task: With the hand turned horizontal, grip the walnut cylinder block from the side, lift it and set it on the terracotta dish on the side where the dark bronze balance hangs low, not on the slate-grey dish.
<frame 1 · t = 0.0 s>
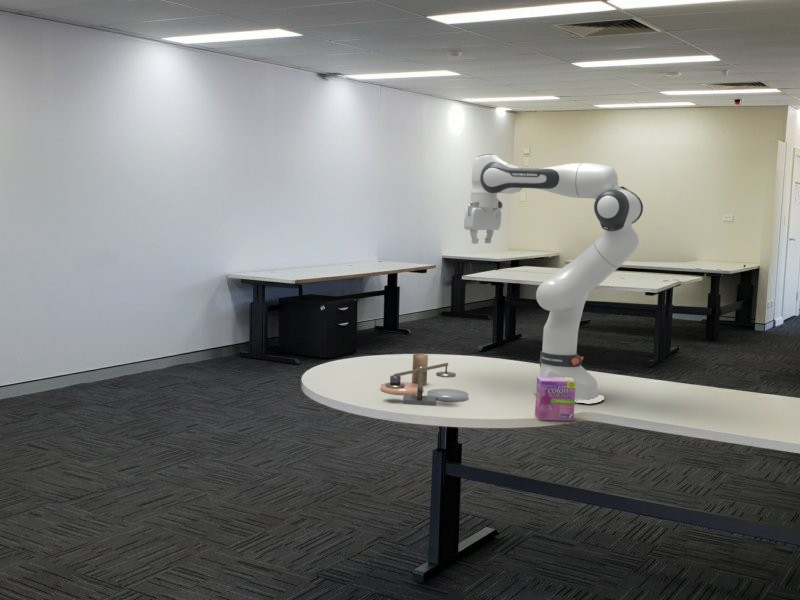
hand: (481, 243, 287), 48 cm above the table, tool pointing down, fingers open, 8 cm apart
box: (553, 419, 244), on the table
balance: (419, 401, 257), on the table
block: (419, 384, 283), on the table
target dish: (402, 390, 273), on the table
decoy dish: (447, 397, 266), on the table
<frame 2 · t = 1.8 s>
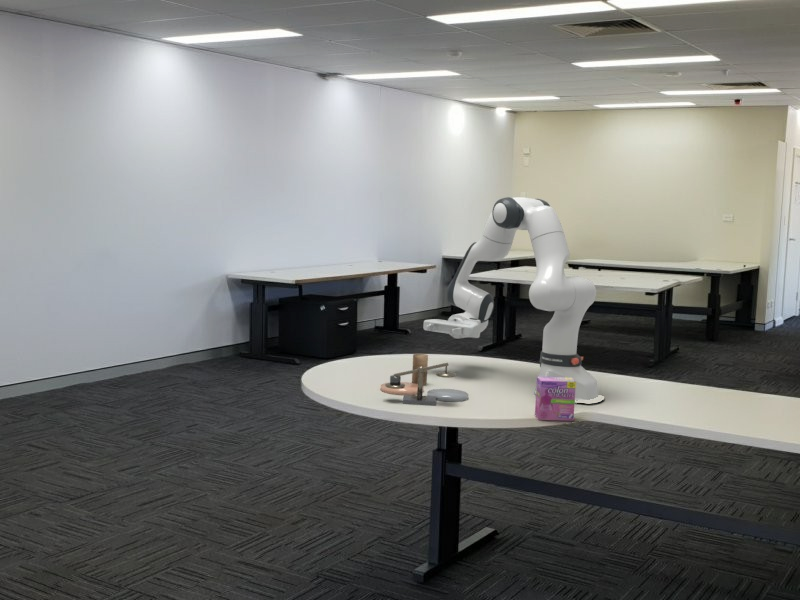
hand: (439, 330, 291), 17 cm above the table, tool horizontal, fingers open, 8 cm apart
nothing on the table moved.
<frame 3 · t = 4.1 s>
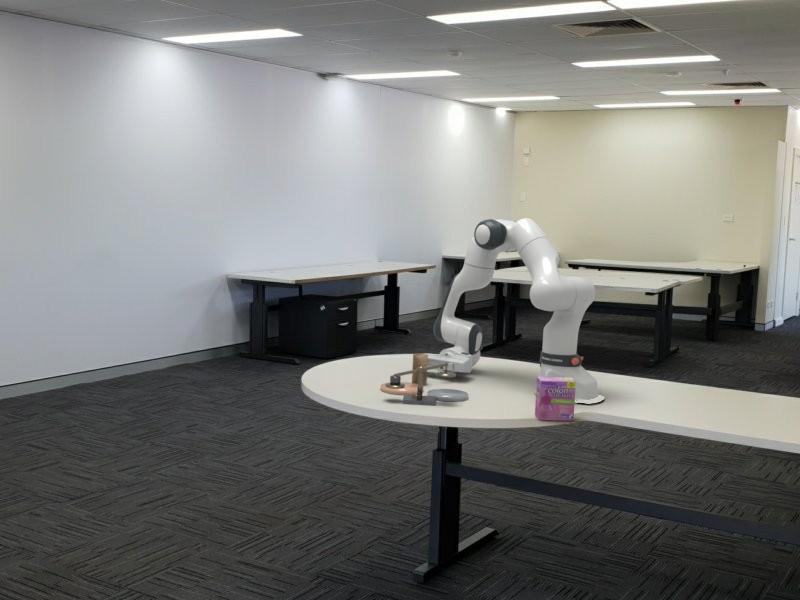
hand: (430, 365, 288), 5 cm above the table, tool horizontal, fingers open, 8 cm apart
nothing on the table moved.
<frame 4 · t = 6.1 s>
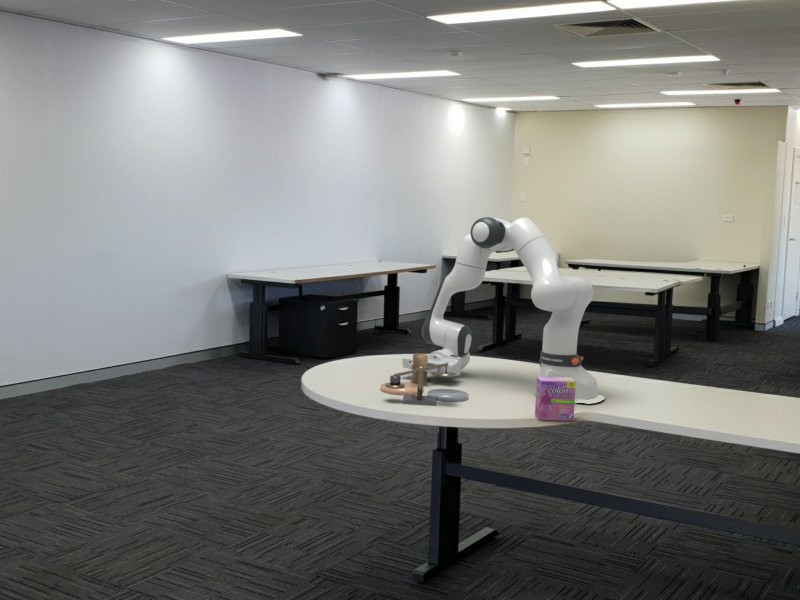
hand: (418, 368, 282), 6 cm above the table, tool horizontal, fingers closed on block, 5 cm apart
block: (419, 384, 283), on the table, touching gripper
everything else where it was.
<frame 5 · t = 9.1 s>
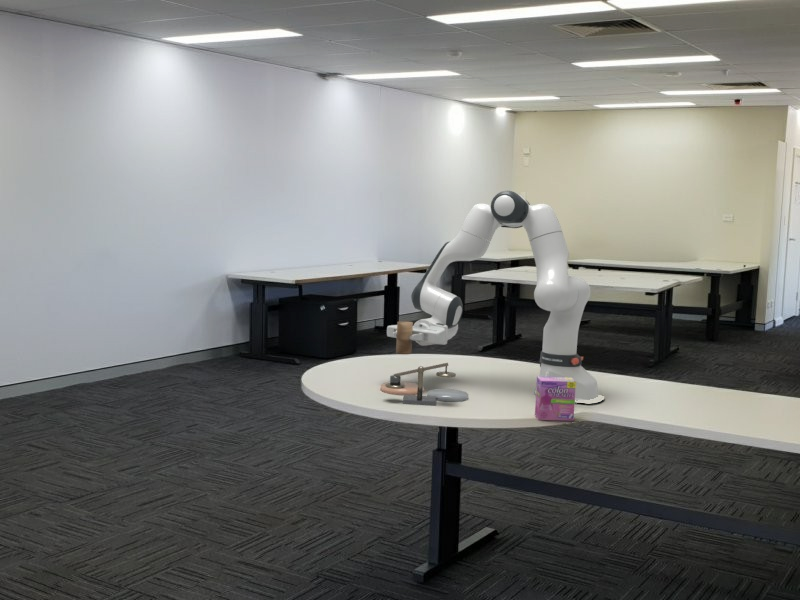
hand: (402, 336, 270), 18 cm above the table, tool horizontal, fingers closed on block, 5 cm apart
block: (403, 352, 271), point 12 cm above the table, touching gripper
everything else where it was.
when the fingers open (8 cm above the table, at t = 12.0 s): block drops 2 cm, resting on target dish.
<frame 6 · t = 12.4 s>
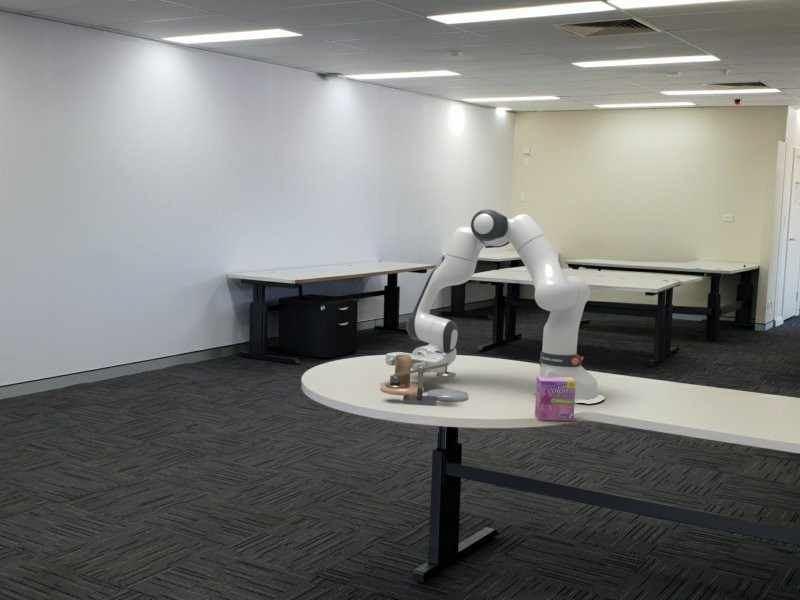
hand: (401, 364, 271), 8 cm above the table, tool horizontal, fingers open, 8 cm apart
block: (402, 386, 273), point 1 cm above the table, touching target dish
everything else where it was.
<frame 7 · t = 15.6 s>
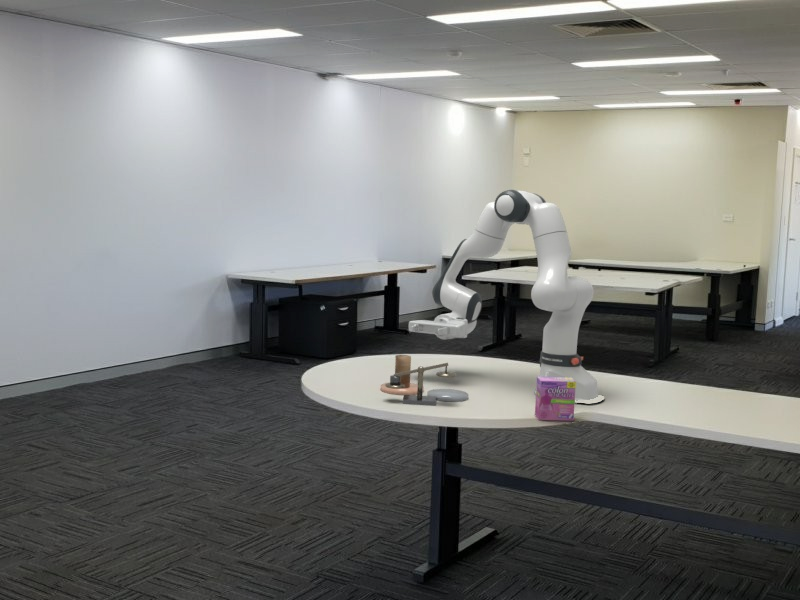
hand: (425, 330, 281), 19 cm above the table, tool horizontal, fingers open, 8 cm apart
nothing on the table moved.
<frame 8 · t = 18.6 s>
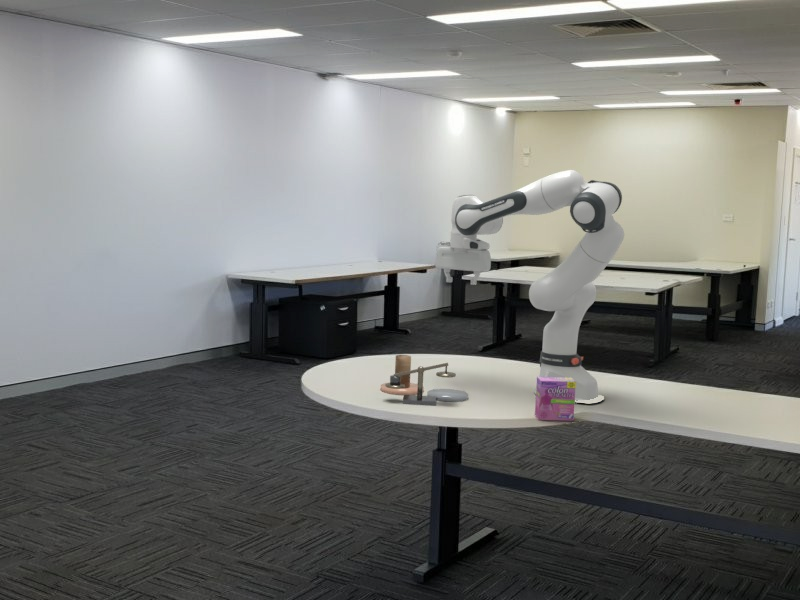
hand: (461, 283, 286), 34 cm above the table, tool pointing down, fingers open, 8 cm apart
nothing on the table moved.
at the end: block inside the target area on the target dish (0.1 cm from its centre), point 1.2 cm above the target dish's base; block tilted 0°; the gripper is holding nothing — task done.
